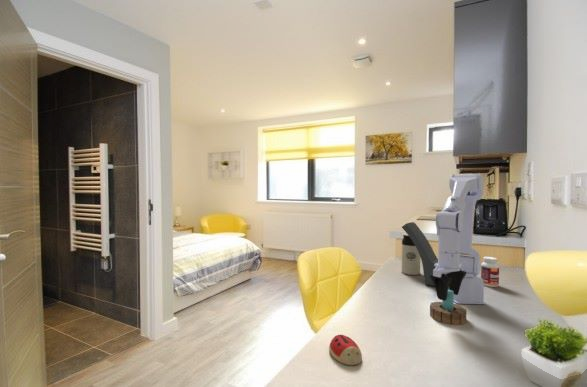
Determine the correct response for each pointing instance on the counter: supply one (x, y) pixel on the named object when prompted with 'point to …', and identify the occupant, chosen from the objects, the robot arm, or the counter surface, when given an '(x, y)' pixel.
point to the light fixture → (422, 250)
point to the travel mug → (410, 256)
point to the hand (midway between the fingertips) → (448, 296)
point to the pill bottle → (490, 272)
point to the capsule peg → (448, 301)
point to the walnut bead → (448, 314)
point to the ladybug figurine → (345, 350)
